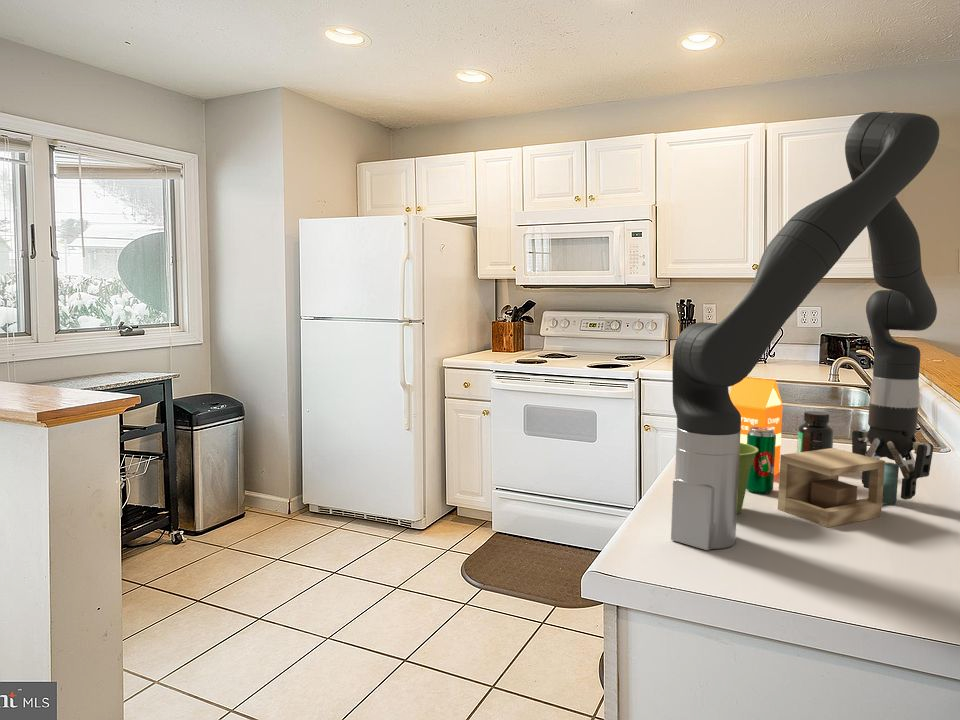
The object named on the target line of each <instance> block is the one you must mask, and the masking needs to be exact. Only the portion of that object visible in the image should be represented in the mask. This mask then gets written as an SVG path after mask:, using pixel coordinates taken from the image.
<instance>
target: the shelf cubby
mask: <svg viewBox="0 0 960 720" xmlns="http://www.w3.org/2000/svg"><path fill="white" fill-rule="evenodd" d="M885 462H886V460H883V459H875V458H871V457H867V456H863V455H859V454H855V453H852V451H851V452H850V451H846V450H842V449H838V448H835V447H833V448H829V449H821V450H814V451H806V452H799V453H797V452H793V453H792V452H791V453H785V454H780V463H779V478H778V495H777V497H778V498H777V499H778V500H777V509H778V510H780V511H782V512H784V513H787V514H790V515H792V516H794V517H798V518H800V519H803V520H807V521H809V522H811V523H814V524H816V525H820V526H823V527H825V528H830V527H836V526H837V527H838V526H841V525H845V524H852V523H855V522H856V523H857V522H862V521H865V520H871V519H872V520H873V519H876V518H880V517H881V518H882V511H883V510H882V508H883V503H882V497H883V483H884V469H885ZM868 470H870V479H869V489H868V496H867V498H868V501H865V502H860V503H854V504H849V505H843V506H838V507H832V508H827V509H823V508H820V507H818V506H815V505H812V504H810V503H811V486H812V482H815V481H821V480H827V479H834V480H838V481H839V479H840V478H839V477H840V476H841V475H849V474H852V473H854V474H855V473H859V472H860V473H862V471H868Z"/></svg>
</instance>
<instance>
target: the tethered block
mask: <svg viewBox="0 0 960 720" xmlns="http://www.w3.org/2000/svg"><path fill="white" fill-rule="evenodd" d="M899 470H900V468H899V467H898V466H897V465H896V463H895V462H887V461H885V469H884V483H883V497H882V505H889V506H890V505H892V506H893V505H896V504H897V499H898V498H897V497H898V484H899ZM865 501H868V497H865V498H860V499H858V485H853V484H850V483H849V482H848V483H847V482H844V481H841V480H839V479H838V480H834V479H827V480H821V481H815V482H812V486H811V503H810V504H812V505H815V506H818V507H820V508H823V509H827V508H832V507H838V506H843V505H849V504H854V503H860V502H865Z"/></svg>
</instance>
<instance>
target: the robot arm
mask: <svg viewBox="0 0 960 720" xmlns="http://www.w3.org/2000/svg"><path fill="white" fill-rule="evenodd" d="M846 134H847V135H846V137H845V142H844V143H845V144H844V155H845V161H846V165H847V168H848V172H849V175H850V179H851V181H850V182H848V183H847V184H846V185H844V186H842V187H840V188H838V189H837V190H835V191H833V192H831V193H829V194H826V195H824V196H823V197H821V198H819V199H817V200H815V201H813V202H812V203H810V204H808V205H806V206H805V207H803V208H802V209H800V210H799V211H797V212H796V213H795V214H794V215H793V216H792V217H790V218H789V220H788V221H787V222H786V223H785V224H784V225H783V227H782V228H781V229H780V230H779V231H778V232H777V234H775V236H774V237H773V238H772V239H771V241H770V242H769V244H768V245H767V246H766V248H765V250H764V251H763V253H762V255H761V258H760V260H759V263H758V268H757V270H756V274H755V276H754V280H753V284H751V287H750V289H749V291H748V292H747V293H746V295H745V296H744V297H743V299H742V300H741V301H740V302H738V304H737V305H736V306H735V308H734V309H733V310H731V312H730V313H729V314H728V315H727V316H725V318H723V319H722V321H720V322H718V323H714V322H706V321H705V322H704V321H703V322H695V323H692V324H689V325H688V326H686V327H685V328H684V329H683V330H682V331H681V332H680V334H679V335H678V337H677V339H676V340H675V342H674V347H673V352H672V364H671V365H672V366H671V367H672V368H671V369H672V377H671V378H672V380H671V382H672V405H673V410H674V411H675V415H676V443H675V444H676V445H675V464H674V465H675V467H674V471H675V472H674V480H673V481H672V499H671V501H672V502H671V504H672V505H671V529H670V531H671V532H670V540H671V541H675V542H677V543H682V544H684V545H688V546H691V547H694V548H698V549H702V550H705V551H710V550H713V549H724V548H725V549H726V548H729V547H732V546H734V545H735V543H736V536H737V534H736V532H737V520H738V519H737V516H738V515H737V497H738V476H739V455H740V436H741V415H740V412H739V411H738V410H737V408H736V407H735V406H734V404H733V403H732V401H731V399H730V396H729V393H730V391H729V387H732V386H733V385H735V384H737V383H739V382H741V381H742V380H743V379H744V378H745V377H748V376H749V374H750V373H751V372H752V371H753V370H754V368H755V367H756V365H757V364H758V362H759V361H760V359H761V358H762V357H763V355H764V354H765V352H766V351H767V349H768V347H769V346H770V345H771V343H772V341H773V340H774V339H775V337H776V336H777V334H778V333H779V332H780V330H781V328H782V327H783V326H784V324H785V323H786V322H787V321H788V319H789V318H790V317H791V316H792V315H793V314H794V312H795V311H797V309H798V308H799V307H800V305H801V304H802V303H803V302H804V300H805V299H806V298H807V297H808V296H809V294H810V293H811V292H812V291H813V289H814V288H815V287H816V286H817V285H818V283H819V284H820V282H821V281H822V280H823V278H824V277H826V276H827V274H828V273H829V272H830V271H831V269H832V268H833V267H834V265H836V264H837V262H838V261H839V260H840V259H841V257H842V256H844V254H845V252H846V251H847V250H848V248H849V247H850V246H851V244H853V242H854V241H855V240H856V239H857V238H858V237H859V236H860V234H861V233H862V232H863V231H864V230H865V229H867V234H868V238H869V239H868V240H869V245H870V252H871V253H870V254H871V262H872V270H873V278H874V282H875V283H876V284H877V286H879V287H881V288H883V289H879V290H876V291H875V292H873V293H872V294H871V295H870V296H869V297H868V300H867V301H866V305H865V313H866V319H867V321H868V323H867V324H868V326H869V329H870V334H871V338H872V343H873V355H874V356H873V357H874V358H873V367H872V368H873V369H872V380H871V385H870V390H869V391H870V392H869V404H868V405H869V406H868V421H867V424H868V426H869V429H868V430H865V429H856V430H852V433H851V439H852V440H851V445H852V446H851V449H852V451H851V453H855V454H859V455H863V456H867V457H871V458H875V459H879V460H881V459H882V458H887V459H888V460H891V461H894V463H895V464H896V465H897V466H898V467H899V470H900V472H901V474H902V477H903V478H901V487H900V489H901V490H900V491H901V492H900V498H901V499H903V500H911V499H913V497H915V495H916V493H917V492H916V491H917V480H918V479H921V478H926V477H929V475H930V471H931V465H932V460H933V454H934V447H935V446H934V445H933V444H932V443H931V442H928V443H924V442H919V441H917V439H916V435H915V433H916V431H917V427H918V417H919V416H918V415H919V402H920V401H919V400H920V381H919V378H920V366H921V364H920V363H921V350H920V348H919V347H917V345H913V344H910V343H909V344H908V343H904V342H901V341H898V340H895V339H894V337H892V334H891V333H890V330H891V331H892V330H893V331H912V332H915V331H916V332H918V331H919V332H921V331H925V330H927V329H929V328H930V327H931V326H932V325H933V324H934V322H935V320H936V318H937V314H938V308H937V302H936V299H935V297H934V294H933V292H932V290H931V288H930V286H929V285H928V283H927V280H926V278H925V275H924V272H923V267H922V256H921V255H922V253H921V242H920V237H919V234H918V230H917V229H916V228H917V227H915V225H914V222H913V221H912V220H911V218H910V217H909V215H908V214H907V212H906V211H905V209H904V208H903V206H902V205H901V203H900V202H899V200H898V198H897V197H896V196H898V195H899V194H900V192H902V191H903V190H904V189H905V188H906V187H907V186H908V185H909V184H910V183H911V182H912V181H914V179H915V178H916V177H917V176H918V175H919V174H920V173H921V172H922V171H923V170H924V168H925V167H926V166H927V164H928V163H929V162H930V161H931V159H932V157H933V155H934V154H935V151H936V149H937V147H938V143H939V140H940V127H939V125H938V123H937V121H936V120H935V118H933V117H931V116H929V115H926V114H920V113H915V112H895V111H894V112H893V111H891V112H890V111H889V112H888V111H872V112H866V113H864V114H863V115H860V116H859V117H858V118H856V119H855V121H853V123H852V124H851V126H850V127H849V130H848V131H847V133H846ZM868 442H869V444H870V446H869V448H867V447H868V444H867V443H868ZM913 450H914V454H915V457H914V455H913V452H912V451H913ZM904 459H905V460H904ZM869 479H870V470H868V471H861V484H863V485H862V486H863V489H864V488H865V489H868V490H869Z"/></svg>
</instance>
